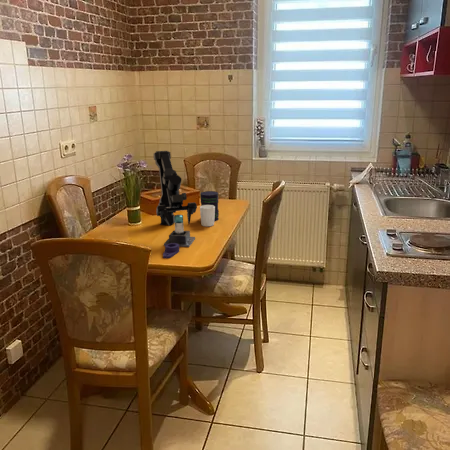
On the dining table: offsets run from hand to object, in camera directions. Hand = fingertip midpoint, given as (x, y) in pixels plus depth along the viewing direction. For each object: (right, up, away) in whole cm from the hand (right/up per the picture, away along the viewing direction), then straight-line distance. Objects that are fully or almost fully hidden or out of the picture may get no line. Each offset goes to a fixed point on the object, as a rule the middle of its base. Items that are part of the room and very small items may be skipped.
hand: (179, 224), depth 213 cm
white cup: (+12, 0, +31) cm, 33 cm away
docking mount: (0, -8, +4) cm, 9 cm away
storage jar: (+13, +3, +41) cm, 43 cm away
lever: (-3, -13, -11) cm, 17 cm away
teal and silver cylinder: (0, -7, +4) cm, 8 cm away
